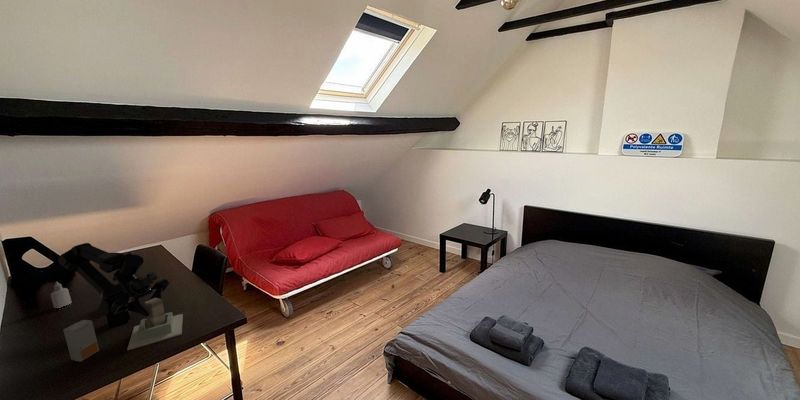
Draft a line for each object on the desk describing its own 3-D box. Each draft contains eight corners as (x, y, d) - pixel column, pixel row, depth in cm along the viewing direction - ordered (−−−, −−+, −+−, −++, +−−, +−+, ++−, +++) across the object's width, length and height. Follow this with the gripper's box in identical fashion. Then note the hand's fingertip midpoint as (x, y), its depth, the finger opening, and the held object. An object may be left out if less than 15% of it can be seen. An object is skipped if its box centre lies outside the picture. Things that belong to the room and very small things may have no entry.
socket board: (127, 350, 115) (125, 340, 114) (134, 327, 128) (132, 318, 127) (181, 334, 123) (179, 325, 122) (182, 314, 136) (181, 306, 135)
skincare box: (80, 362, 109) (72, 330, 107) (71, 360, 110) (62, 329, 108) (100, 350, 115) (92, 320, 113) (91, 348, 116) (82, 319, 113)
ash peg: (148, 331, 124) (144, 302, 122) (159, 325, 128) (155, 297, 126) (155, 333, 123) (151, 304, 121) (166, 327, 127) (162, 299, 124)
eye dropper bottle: (73, 305, 146) (66, 281, 143) (55, 311, 142) (47, 286, 139) (71, 302, 149) (64, 278, 146) (53, 307, 144) (46, 283, 142)
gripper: (108, 280, 112) (136, 314, 111) (162, 259, 130) (187, 288, 129) (99, 297, 117) (126, 330, 116) (152, 275, 134) (176, 303, 133)
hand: (155, 311), depth 123 cm, fingers open, 5 cm apart
